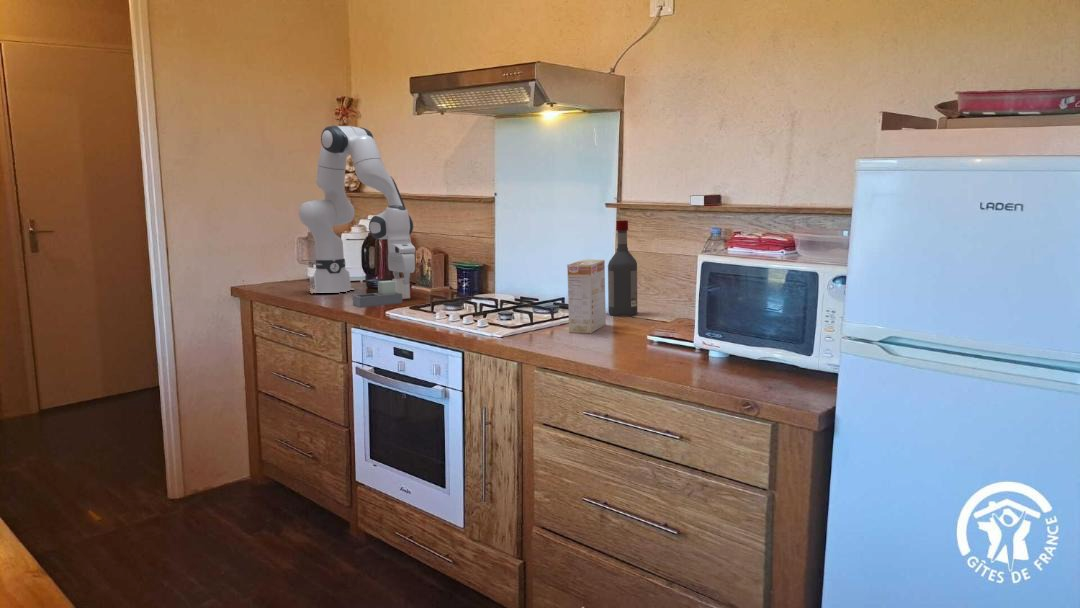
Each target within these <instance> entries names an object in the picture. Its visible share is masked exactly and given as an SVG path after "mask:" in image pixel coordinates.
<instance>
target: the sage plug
mask: <svg viewBox="0 0 1080 608" xmlns="http://www.w3.org/2000/svg"><path fill="white" fill-rule="evenodd" d="M377 293H378V294H379V295H390V294H396V288H395V281H392V280H379V281H377Z"/></svg>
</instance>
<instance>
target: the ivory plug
mask: <svg viewBox="0 0 1080 608" xmlns="http://www.w3.org/2000/svg"><path fill="white" fill-rule="evenodd" d="M403 280H404V277H400V278H397V279H395V278H392V280H391V281H395V288H396V292H398V293H401V294H402V300H405V299H411V291H410V290H411V287H410V286H411V285H410V283H409V284H407V285H405V284H404V282H403Z"/></svg>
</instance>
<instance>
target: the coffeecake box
mask: <svg viewBox="0 0 1080 608" xmlns="http://www.w3.org/2000/svg"><path fill="white" fill-rule="evenodd" d="M605 260H606V259H589V258H588V259H587V258H586V259H581V260H578V261H575V262H571V263H569V264H566V267H567V297H568V304H567V305H568V333H572V334H573V333H575V334H592V333H594V332H595V331H597V330H599V329H601V328H603V327H604V326H606V325H607V321H606V317H607V316H606V271H605V269H606V265H605V263H606V262H605Z"/></svg>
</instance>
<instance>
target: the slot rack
mask: <svg viewBox="0 0 1080 608" xmlns="http://www.w3.org/2000/svg"><path fill="white" fill-rule="evenodd" d="M398 304H403V299H402V294H401V293H398V292H396V294H390V295H379V294H378V292H371V293H363V294H352V306H355V307H358V308H368V307H369V308H370V307H377V306H387V305H398Z"/></svg>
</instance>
